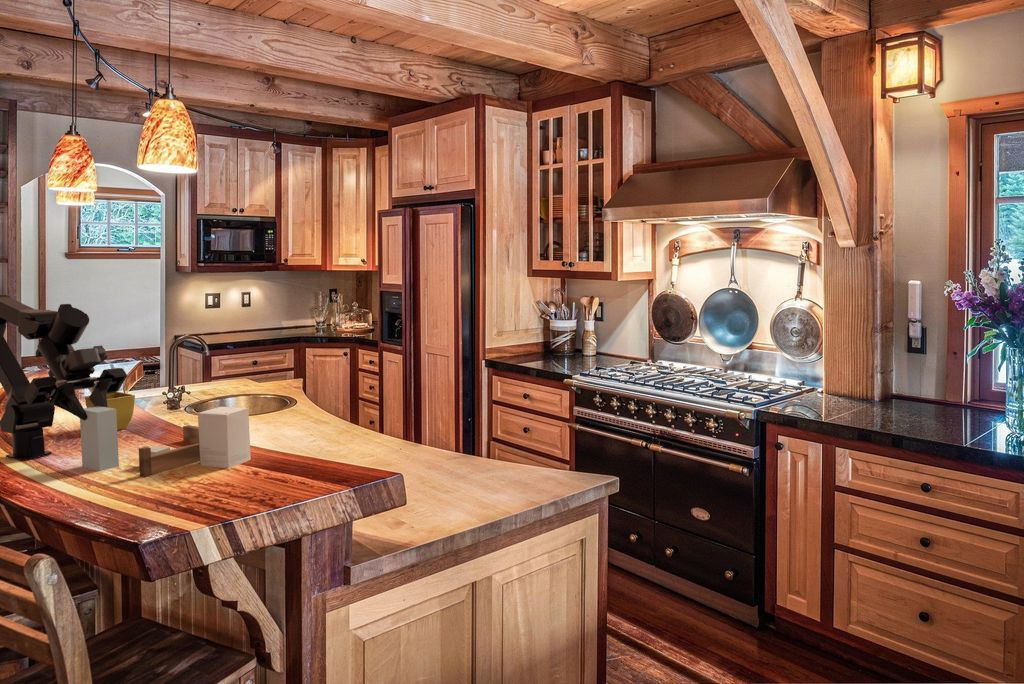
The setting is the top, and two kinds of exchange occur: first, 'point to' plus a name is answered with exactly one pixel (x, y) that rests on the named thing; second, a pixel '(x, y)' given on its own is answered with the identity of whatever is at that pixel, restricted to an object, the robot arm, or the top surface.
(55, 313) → the robot arm
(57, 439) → the top surface
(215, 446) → the supplement box
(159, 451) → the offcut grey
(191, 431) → the frame
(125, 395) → the flower pot
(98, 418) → the block
